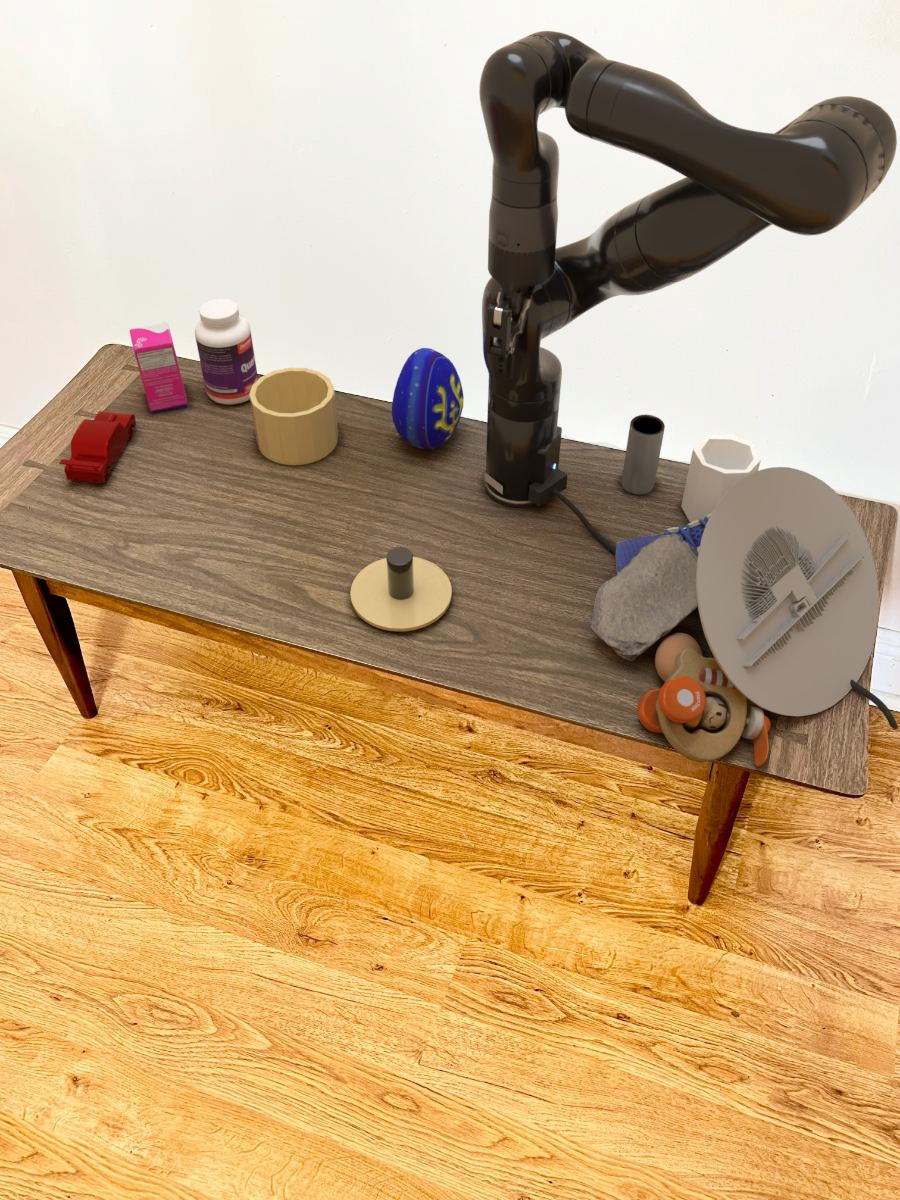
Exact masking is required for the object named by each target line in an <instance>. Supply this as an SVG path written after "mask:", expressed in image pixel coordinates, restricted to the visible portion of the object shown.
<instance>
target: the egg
mask: <svg viewBox="0 0 900 1200" xmlns="http://www.w3.org/2000/svg"><path fill="white" fill-rule="evenodd" d="M687 648H691V649H694V650H695V651H697V652H698V653H699V654H700V655H701V656H703V657H704V655H703V654H704V653H703V651H702V649H701V646H700V645H699V644H698V642H697V640H696V639H695V638H693V637H692V636H691V635H690V634H688V633H685V632H675V633H672V634H669V635H668V636H667V637H665V638H664V639H663V640H662V641H661V643H660V644H659V645H658V647H657V649H656V653H655V657H654V658H655V659H654V667H655V671H656V672H657V675H658V677H659V678H660V679H661V680H662V681H663V682H664V683H665V682H666V680H667V679H668V678H669V676H670V675H671V674H672V673H673V672H674V670H675V658H676V656H677V654H678V653H680V652H681V651H683V650H684V649H687Z"/></svg>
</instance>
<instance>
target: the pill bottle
mask: <svg viewBox="0 0 900 1200" xmlns="http://www.w3.org/2000/svg"><path fill="white" fill-rule="evenodd" d="M198 313H199V319H200V320H198V322H197V323H196V325H195V328H194V337H195V342H196V347H197V353H198V357H199V358H198V359H199V363H200V367H201V374H202V378H203V383H204V388H205V389H204V390H205V393H206V395H207V396H208V398H209V399H211V400H212V401H214V402H215V403H217V404H222V405H229V406H230V405H238V404H242V403H245V402H247V401H250V397H249V394H250V391H251V388H252V385H253V384H254V383H255V382H256V381H257V380H258V379H259V376H258V370H257V363H256V362H257V361H256V356H255V350H254V344H253V338H252V330H251V326H250V325H251V324H250V323H249V321H248V320H247V319H246V318H245V317H244V316H242V315H241V314H240V311H239V306H238V304H237V303H236V301H233V300H232V299H227V298H214V299H210V300H207V301H206V302H203V303H202V304H201V306H199V309H198Z"/></svg>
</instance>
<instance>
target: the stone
mask: <svg viewBox="0 0 900 1200" xmlns="http://www.w3.org/2000/svg"><path fill="white" fill-rule="evenodd" d="M698 554H699V553H698V551H697V550H696V549H695V548H694V547H693V546H691V545H690V544H688V543H687V542H685V541H684V540H683V538H682V537H681V536H679V535H677V534H671V535H661V536H660V537H658V538H657V539H655V540H654V541H652V542H651V543H650V544H649V545H647V546H645V547H643V548H641V549H640V550H639V552H638V554H637V556H635V557H633V558H632V559H631V561H630V563H629V564H628V565H627V566H625V567H624V568H623V569H622V570H621V571H620V573H619V574H618V575H617V574H616V575H615V576H613V577H611V578H610V579H608V580H607V581H604V582H603V583H602V584H601V585H600V586H599V587H598V590H597V593H596V596H595V599H594V607H593V610H592V612H591V615H590V617H589V619H588V620H589V621H588V625H589V626H590V629H591V630H592V631H594V633H595V634H596V635H597V636H598V637H599V638H600V639H601V640H602V641H603V642H605V644H606V645H607V646H609V647H610V648H611V649H612V650H613V651H614V653H615V654H616V655H618V656H620V657H621V659H623V660H627V661H629V662H632V661H634V660H635V659H637V657H638V656H641V655H642V654H643V653H644V652H645V651H647V650H649V648H651V647H652V646H653V645H654V644H656V642H657V641H659V640H660V639H661V638H664V637H665V636H666V635H667V634H669V633H670V632H671V631H672V630H673V629H674V628H676V627H677V626H678V625H679V624H680V623H682V622H683V621H684V620H685V619H686V618H687V617H688V616H689V615H690V614H692V612H694V611H695V610H696V609H698V602H697V591H696V572H697V560H698Z"/></svg>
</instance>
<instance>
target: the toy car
mask: <svg viewBox="0 0 900 1200" xmlns="http://www.w3.org/2000/svg"><path fill="white" fill-rule="evenodd" d="M136 426H137V420H136V417H135V414H134V413H128V412H127V413H126V412H125V413H124V412H115V411H103V410H101V411H100V410H99V411H98V412H97V413H96V415H95V417H94V418H93V419H87V418H84V419H83V420H82V421H81V423H80V424H79V425H78V427H77V429H76V430H75V432H74V433H73V435H72V438H71V441H70V457H69V458H68V459H67V458H66V459H65V458H62V459H61V460H59V462H58V464H59V465H65V466H64V468H63V471H64V473H65V476H66V477H65V478H66V479H67V481H69V480H70V481H72V483H77V481H78V482H89V483H91V485H96V484H97V483H99V484H100V483H101V484H103V483H107V482H108V481H109V480H110V479H109V478H110V470H112V469H113V467H114V465H115V463H116V461H117V460H118V458H119V456H120V454H121V453H122V451H123V450H124V448H125V446H126V444H127V442H128V441H129V440H132V438H133V436H134V428H136Z"/></svg>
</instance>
